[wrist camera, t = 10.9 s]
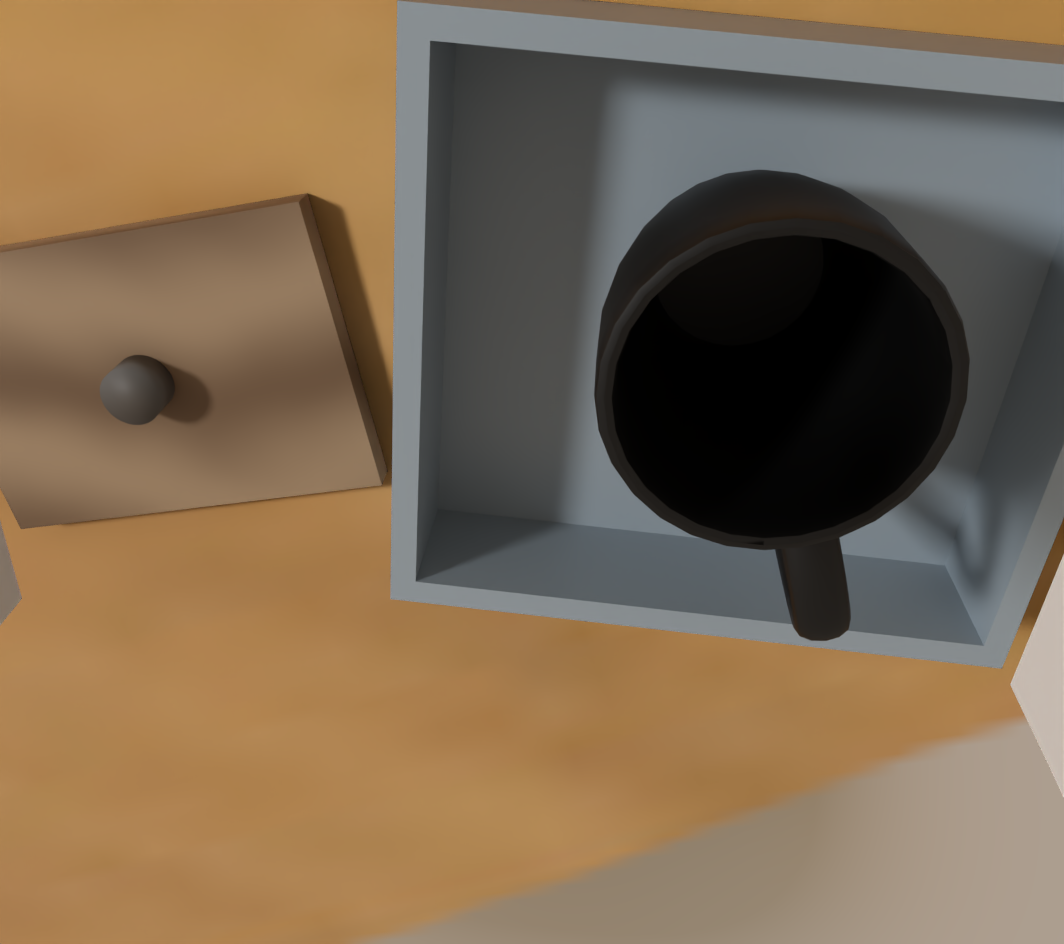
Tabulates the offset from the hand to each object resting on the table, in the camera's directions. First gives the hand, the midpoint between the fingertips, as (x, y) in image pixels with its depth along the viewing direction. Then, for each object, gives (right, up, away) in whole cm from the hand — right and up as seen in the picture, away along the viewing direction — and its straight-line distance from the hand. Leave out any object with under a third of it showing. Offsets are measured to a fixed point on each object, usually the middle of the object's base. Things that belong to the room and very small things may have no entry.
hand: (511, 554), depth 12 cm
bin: (+7, +6, +20) cm, 22 cm away
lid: (-13, +4, +22) cm, 26 cm away
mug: (+7, +6, +19) cm, 21 cm away
